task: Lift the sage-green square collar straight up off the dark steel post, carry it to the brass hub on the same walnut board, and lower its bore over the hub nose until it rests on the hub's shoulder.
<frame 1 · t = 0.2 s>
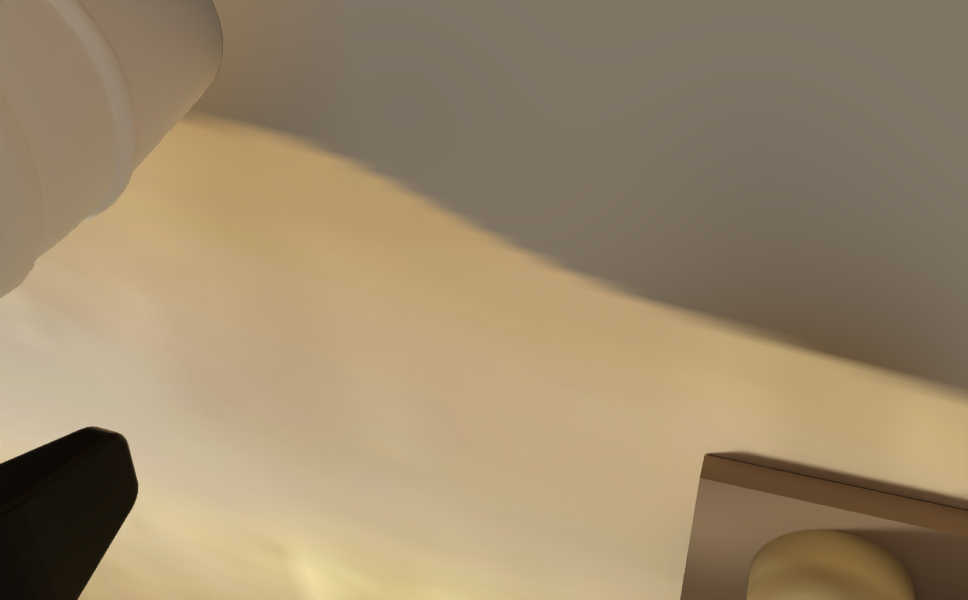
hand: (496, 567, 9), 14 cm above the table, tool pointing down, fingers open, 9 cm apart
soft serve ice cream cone: (161, 22, 25), on the table
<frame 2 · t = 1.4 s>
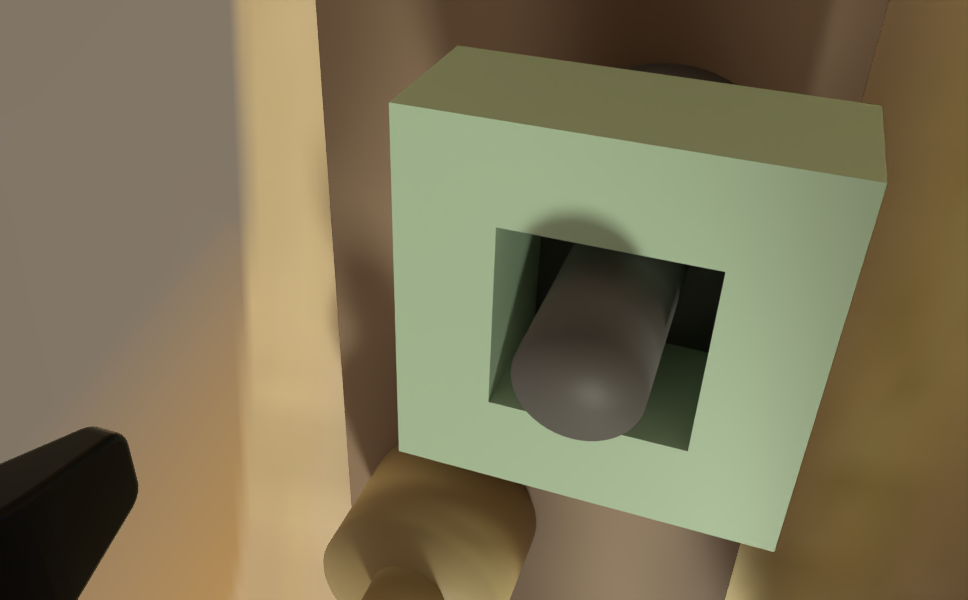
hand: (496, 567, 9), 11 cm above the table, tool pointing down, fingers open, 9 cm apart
stand: (553, 343, 21), on the table
collar: (631, 256, 14), point 4 cm above the table, touching stand
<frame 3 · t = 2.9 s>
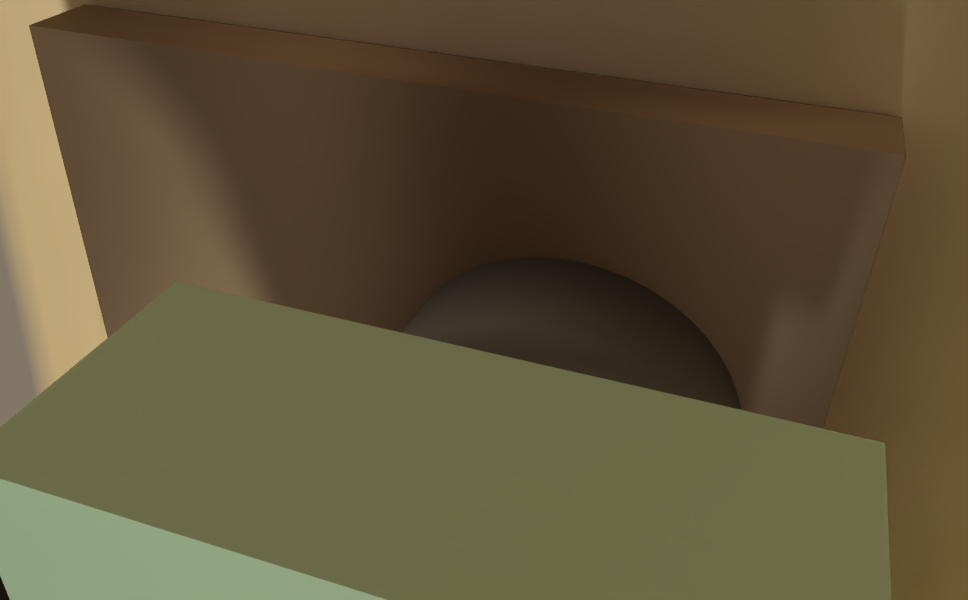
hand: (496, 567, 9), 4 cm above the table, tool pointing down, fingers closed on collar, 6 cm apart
stand: (442, 572, 15), on the table
collar: (483, 595, 9), point 4 cm above the table, touching gripper, stand
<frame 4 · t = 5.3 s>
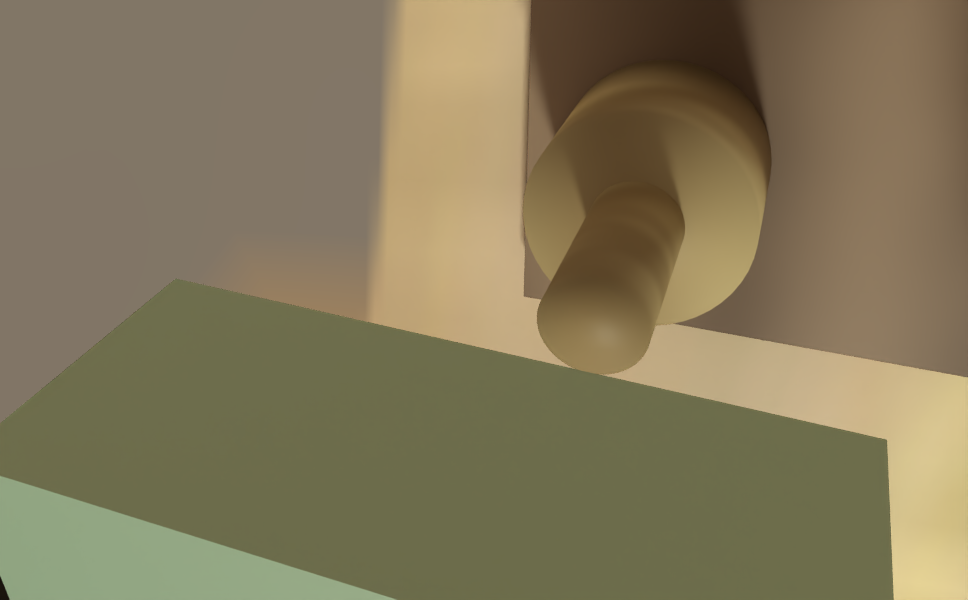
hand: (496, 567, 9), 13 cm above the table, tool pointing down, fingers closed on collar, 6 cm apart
collar: (483, 593, 9), point 13 cm above the table, touching gripper
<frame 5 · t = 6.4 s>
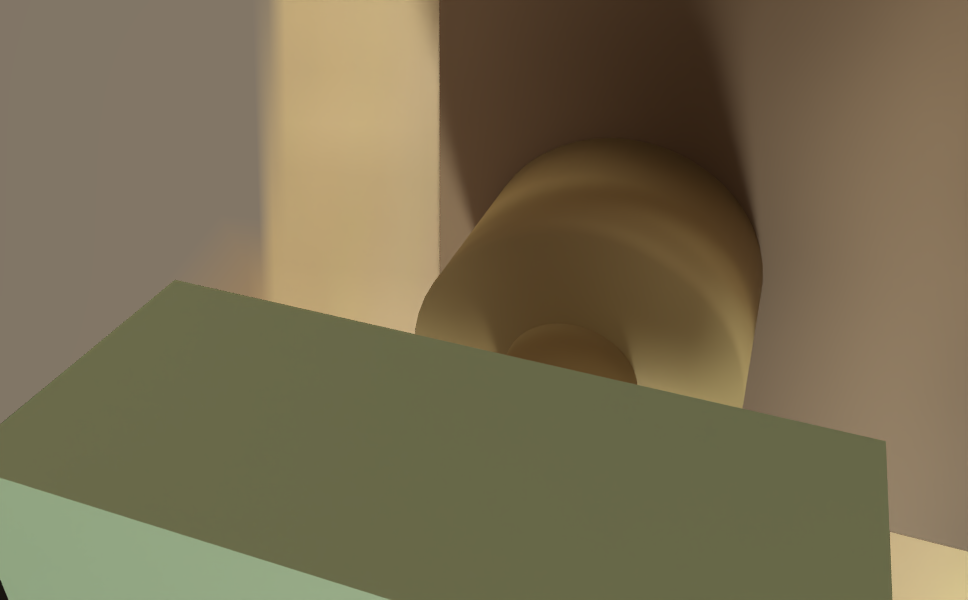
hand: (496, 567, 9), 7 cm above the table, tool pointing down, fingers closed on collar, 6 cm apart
collar: (483, 594, 9), point 8 cm above the table, touching gripper
when the fingers open (4 cm above the table, at t = 7.5 s): collar stays where it is, resting on stand.
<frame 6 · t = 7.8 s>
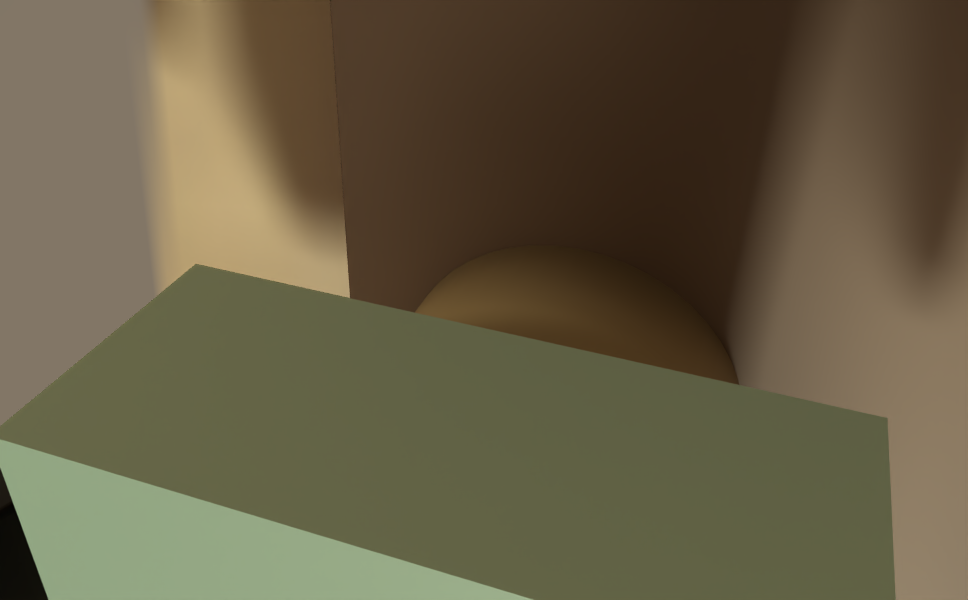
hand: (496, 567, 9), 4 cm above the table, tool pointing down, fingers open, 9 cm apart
collar: (493, 573, 9), point 4 cm above the table, touching stand
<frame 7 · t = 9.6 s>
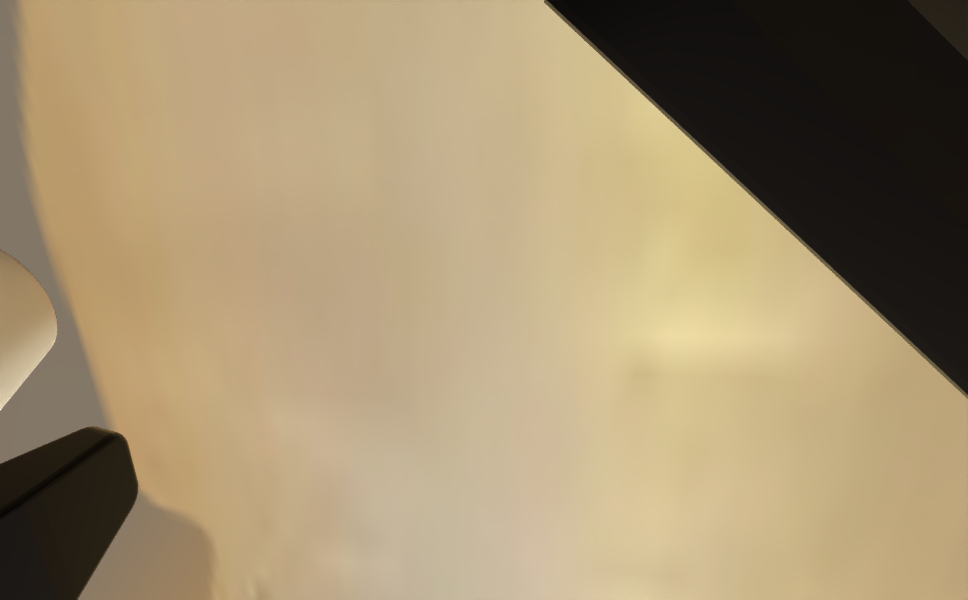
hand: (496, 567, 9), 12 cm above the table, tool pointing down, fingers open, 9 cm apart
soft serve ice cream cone: (9, 295, 29), on the table
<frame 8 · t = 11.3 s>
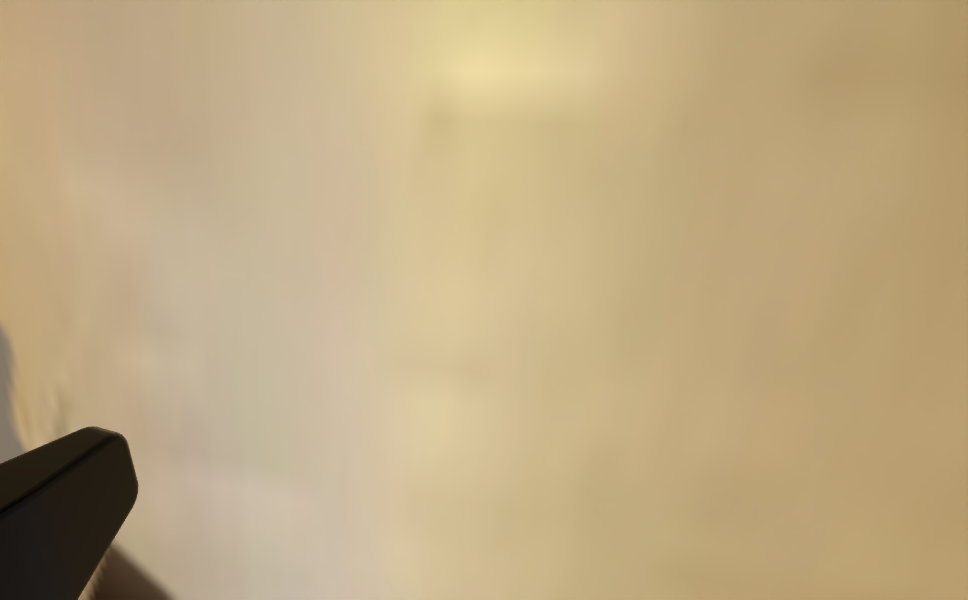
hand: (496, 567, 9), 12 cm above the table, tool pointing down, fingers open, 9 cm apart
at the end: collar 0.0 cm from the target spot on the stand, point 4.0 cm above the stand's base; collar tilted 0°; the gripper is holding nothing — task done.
